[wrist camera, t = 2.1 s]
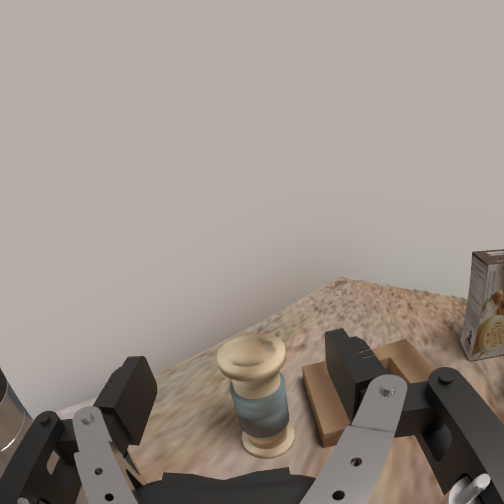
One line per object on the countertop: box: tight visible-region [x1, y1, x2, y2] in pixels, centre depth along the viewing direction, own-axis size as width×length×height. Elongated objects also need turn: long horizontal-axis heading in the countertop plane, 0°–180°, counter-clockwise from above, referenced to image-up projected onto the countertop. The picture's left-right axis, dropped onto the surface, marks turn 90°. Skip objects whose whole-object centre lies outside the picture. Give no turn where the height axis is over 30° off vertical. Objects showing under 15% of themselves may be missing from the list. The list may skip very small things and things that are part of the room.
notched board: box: [302, 339, 435, 448], centre depth 30 cm, size 17×13×3 cm
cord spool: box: [217, 334, 295, 459], centre depth 25 cm, size 6×6×14 cm
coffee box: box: [460, 249, 504, 361], centre depth 28 cm, size 9×6×16 cm
